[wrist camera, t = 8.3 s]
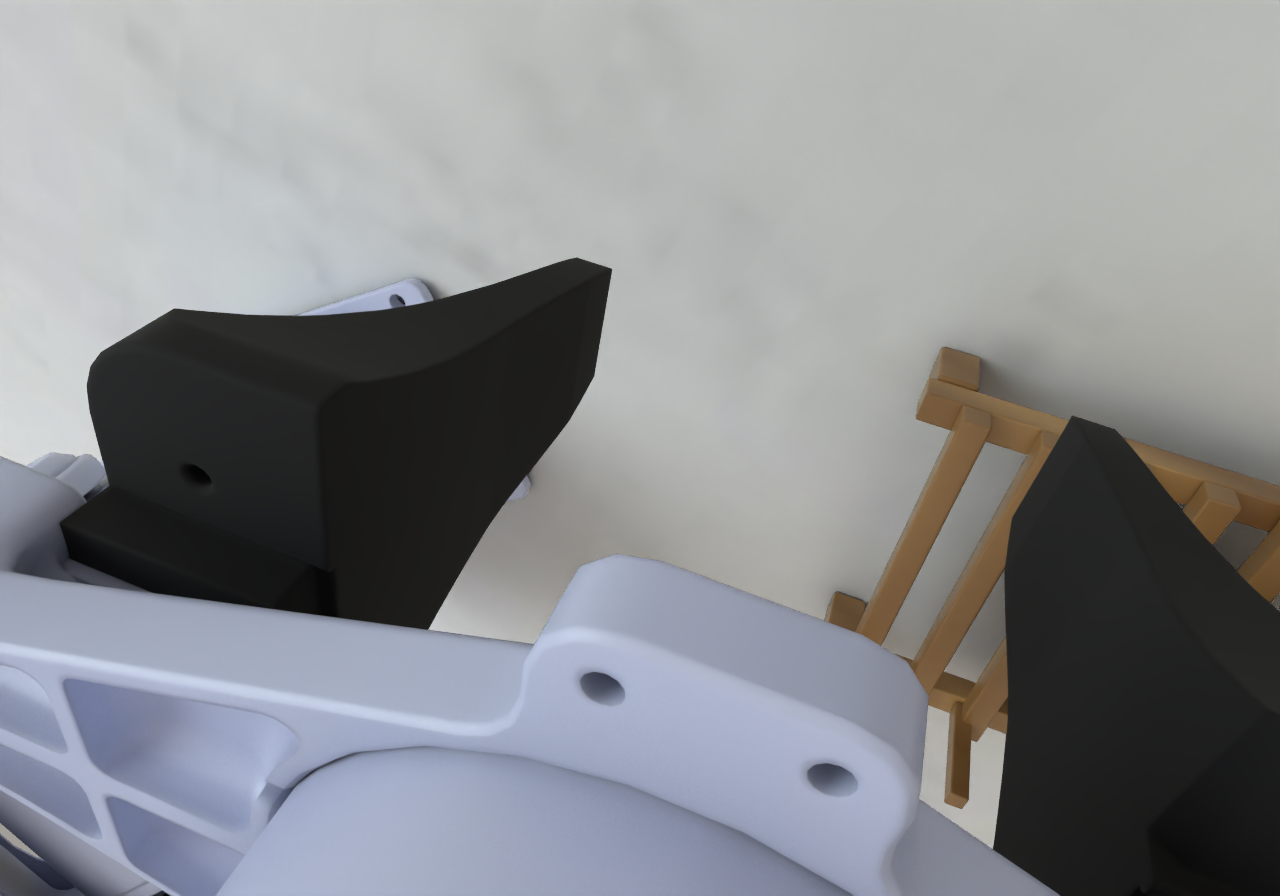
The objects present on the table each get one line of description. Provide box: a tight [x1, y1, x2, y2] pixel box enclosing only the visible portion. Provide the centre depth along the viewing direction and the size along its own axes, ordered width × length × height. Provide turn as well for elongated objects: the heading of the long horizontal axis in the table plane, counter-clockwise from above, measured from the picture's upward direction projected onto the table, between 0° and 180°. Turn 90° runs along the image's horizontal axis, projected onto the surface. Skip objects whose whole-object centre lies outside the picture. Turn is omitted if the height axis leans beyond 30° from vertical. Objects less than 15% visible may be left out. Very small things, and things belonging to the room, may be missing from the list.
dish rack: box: [824, 347, 1280, 809], centre depth 22 cm, size 15×10×6 cm
